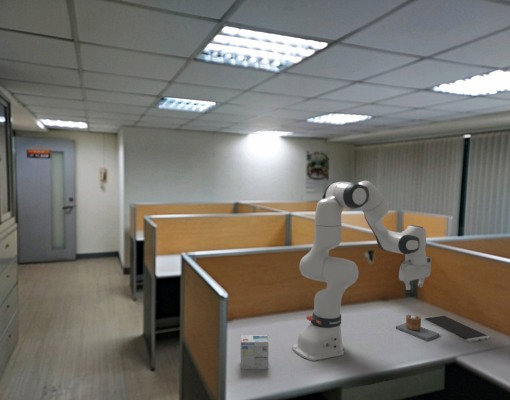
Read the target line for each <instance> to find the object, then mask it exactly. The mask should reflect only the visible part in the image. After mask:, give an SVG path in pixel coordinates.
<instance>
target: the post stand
mask: <svg viewBox="0 0 510 400" xmlns="http://www.w3.org/2000/svg"><path fill="white" fill-rule="evenodd" d="M410 315H411V318H412V319H416V316H417V315H416V316H415V314H410ZM395 330H398V331H400V332H403V333H405V334H407V335H410V336H412V337H415V338H418V339H420V340H423V341H425V342H428V341H431V340H433V339H436V338H438V337H440V333H439V332H436V331H434V330H430V329H427V328H426V327H423V326H421V329H419V330H411V329H409V328H407V327H406V322H405V323H402V324H398V325H396V326H395Z"/></svg>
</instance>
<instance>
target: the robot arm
mask: <svg viewBox="0 0 510 400" xmlns="http://www.w3.org/2000/svg"><path fill="white" fill-rule="evenodd" d="M344 209H352V210H353V209H360V210H361V211H362V213H363V214H364V220H365V221H366V223H367V224H368V227H369V229H370V230H371V232H372V233H373V235H374V237H375V239H376V243H377V245H378V248H380V250H382V251H384V252H385V251H386V252H391V253H395V254H400V255H405V256H404V261H403V262H402V263H401V264H400V266H399V271H398V280H399V281H401V282H404V285H405V290H406V291H409V290H410V291H411V290H412V285H410V283H411V282H412V281H417V280H418V282H417V287H419V288H422V287H424V282H425V278H428V277H430V275H431V272H432V271H431V270H432V265H431V264H432V261H433V260H432V258H431V257H430V256H427V253H426V246H427V233H426V229H425V228H424V227H423V226H420V225H414V224H413V225H412V224H409V225H408V226H407V227H406V229H404V230H403V231H401V232H398V231H393V230H389V229H388V228H386V226H385V224H384V222H383V221H382V220H383V219H384V218H385V217H386V216H387V215H388V213H389V209H390V205H389V203H388V201H387V200H386V198H385V196H384V195H383V194H382V192H381V191H380V190H379V189H378V188H377V187H376V186H375V185H374V184H373V183H372V182H370V181H369V180H361V181H359V182H351V181H350V182H349V181H333V182H329V183H328V184H327V185H326V186H325V188H324V191H323V194H322V199H320V200H318V201H317V204H316V208H315V214H314V236H313V238H314V239H313V244H312V247H311V249H310V250H309V251H308V252H307V254H305V255H304V256H302V258H301V259H300V261H299V267H298V268H299V273H301V275H302V276H303V277H304V278H307V279H309V280H312V281H318V282H323V283H326V288H323V289H321V290H318V291H317V292H316V294H315V295H314V299H313V301H314V302H313V305H314V306H313V309H314V310H313V313H312V315H310V314H307V315H306V317H305V319H306V320H307V321H310V323H309V324H308V325H307V326H306V327H305V328H304V329H303V330H302V331H301V332H299V335H298V339H297V342H296V343H294V344H293V345H292V346H291V348H292V351H293V352H294V353H295V354H297V355H298V356H300V357H302V358H304V359H305V360H309V361H315V362H316V361H319V360H325V359H328V358H329V359H330V358H335V357H339V356H343V355H345V351H344V348H345V347H344V344H343V337H342V328H341V324H342V314H341V306H342V305H341V304H342V297H343V295H344V293H345V291H346V290H347V289H348V288H349V287H350V286H352V285H353V284H355V283H356V282H357V280H358V278H359V275H360V273H359V267H358V265H357V264H356V262H354V261H353V260H350V259H346V258H342V257H335V256H330V255H329V254H330V250H333V249H335V248H337V247H338V246H340V244H341V242H342V213H343V211H344Z"/></svg>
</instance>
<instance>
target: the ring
mask: <svg viewBox="0 0 510 400" xmlns="http://www.w3.org/2000/svg"><path fill="white" fill-rule="evenodd" d="M411 315H412V314H407V315H405V317H406V318H405V321H406V322H405V323H406V327H407V328H409V329H411V330H419V329H421V327H422V318H421V316H419V315H415V314H414V315H415V316H416V319H412V318H411Z"/></svg>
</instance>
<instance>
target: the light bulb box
mask: <svg viewBox="0 0 510 400" xmlns="http://www.w3.org/2000/svg"><path fill="white" fill-rule="evenodd" d="M240 370H269V339H268V334H241V335H240Z"/></svg>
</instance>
